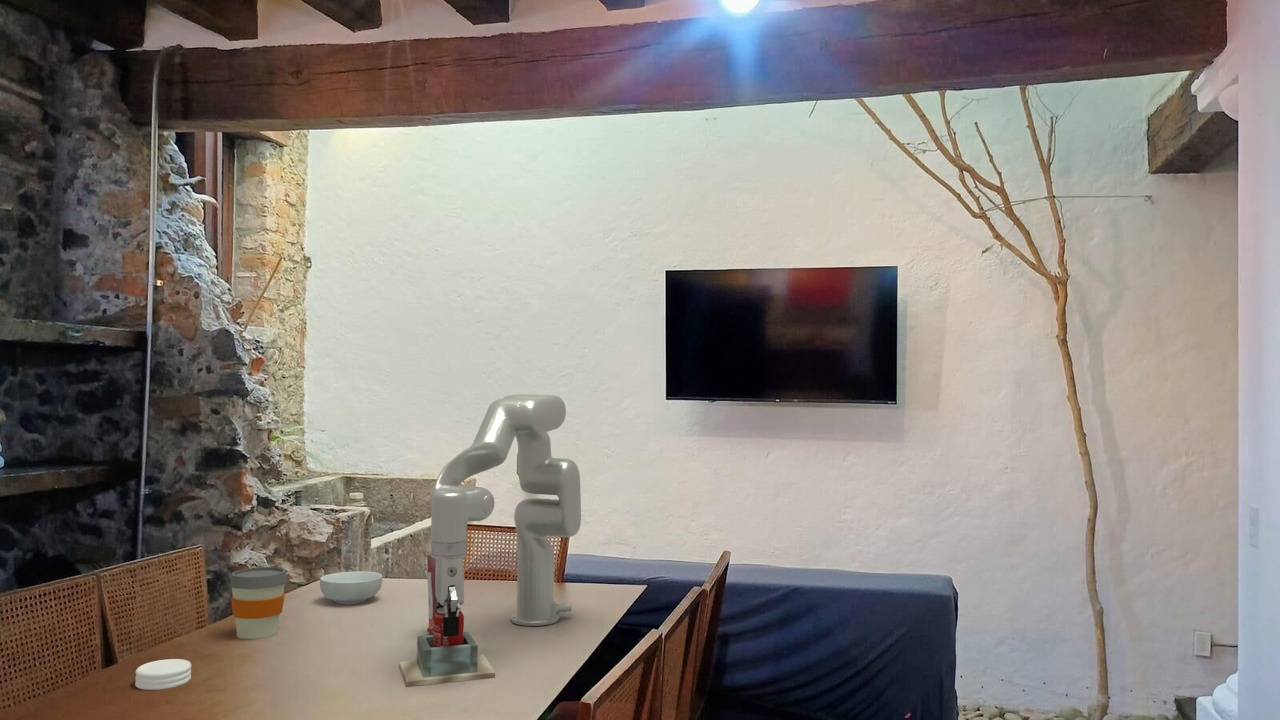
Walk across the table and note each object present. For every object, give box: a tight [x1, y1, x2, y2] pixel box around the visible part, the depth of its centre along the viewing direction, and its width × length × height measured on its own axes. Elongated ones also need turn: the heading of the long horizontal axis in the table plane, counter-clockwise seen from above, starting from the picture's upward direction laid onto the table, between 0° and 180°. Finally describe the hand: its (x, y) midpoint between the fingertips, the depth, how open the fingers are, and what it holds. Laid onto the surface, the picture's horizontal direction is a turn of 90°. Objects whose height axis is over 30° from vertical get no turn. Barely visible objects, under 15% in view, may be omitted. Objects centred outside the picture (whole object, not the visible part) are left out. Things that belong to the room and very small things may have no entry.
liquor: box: [426, 554, 440, 635], centre depth 215 cm, size 7×7×28 cm
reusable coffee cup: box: [230, 566, 287, 640], centre depth 214 cm, size 13×13×15 cm
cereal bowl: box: [319, 570, 383, 605], centre depth 248 cm, size 17×17×7 cm
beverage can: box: [433, 606, 465, 647], centre depth 188 cm, size 6×6×12 cm
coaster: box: [134, 658, 192, 691], centre depth 179 cm, size 10×10×4 cm
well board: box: [399, 631, 496, 688], centre depth 187 cm, size 18×14×6 cm
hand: (447, 629), depth 187 cm, fingers open, 9 cm apart
